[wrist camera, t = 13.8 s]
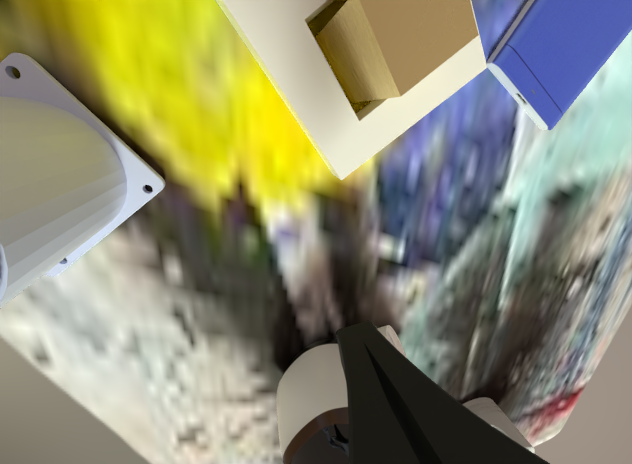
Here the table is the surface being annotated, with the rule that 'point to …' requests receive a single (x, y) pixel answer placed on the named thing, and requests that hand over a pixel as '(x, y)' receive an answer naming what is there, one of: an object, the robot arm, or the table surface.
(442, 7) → the block
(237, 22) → the frame
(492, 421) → the engine component
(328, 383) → the spread jar
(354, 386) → the robot arm
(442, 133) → the table surface
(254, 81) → the table surface
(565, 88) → the hard drive
